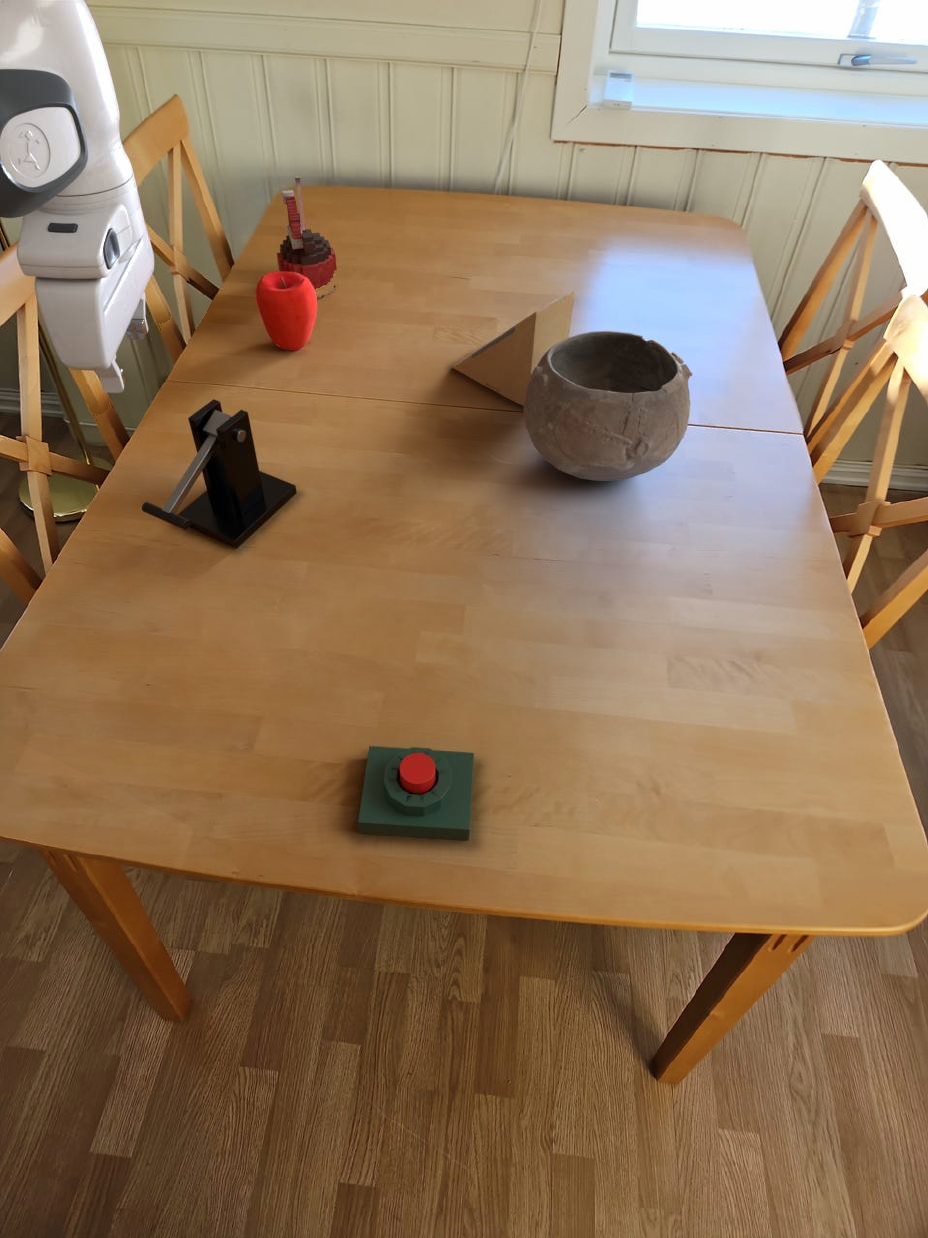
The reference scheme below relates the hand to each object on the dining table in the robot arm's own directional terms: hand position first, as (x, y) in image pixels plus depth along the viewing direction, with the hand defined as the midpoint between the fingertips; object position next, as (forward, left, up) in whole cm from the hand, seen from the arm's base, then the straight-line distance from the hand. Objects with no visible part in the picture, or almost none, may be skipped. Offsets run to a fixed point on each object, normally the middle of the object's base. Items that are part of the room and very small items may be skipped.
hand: (127, 361), depth 79 cm
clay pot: (+41, +37, -26) cm, 61 cm away
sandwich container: (+23, +51, -26) cm, 62 cm away
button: (+39, -20, -22) cm, 48 cm away
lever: (+1, +5, -17) cm, 17 cm away
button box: (+39, -20, -25) cm, 50 cm away
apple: (-11, +46, -26) cm, 54 cm away
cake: (-17, +63, -26) cm, 70 cm away
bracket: (+2, +9, -25) cm, 27 cm away
